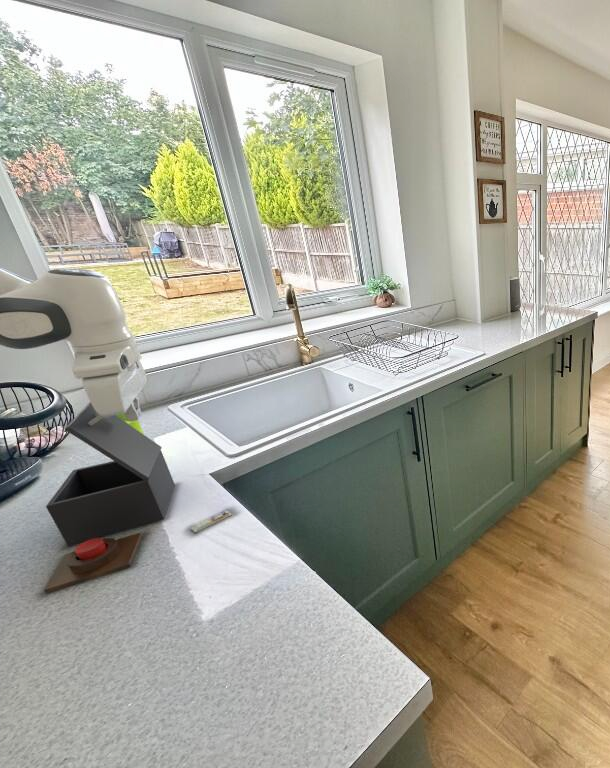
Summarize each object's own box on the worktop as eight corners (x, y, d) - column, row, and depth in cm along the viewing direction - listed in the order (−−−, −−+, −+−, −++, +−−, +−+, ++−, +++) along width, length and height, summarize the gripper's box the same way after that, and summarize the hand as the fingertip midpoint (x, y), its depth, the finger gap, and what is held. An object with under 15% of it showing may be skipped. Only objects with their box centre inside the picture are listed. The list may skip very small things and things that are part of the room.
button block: (46, 595, 68) (38, 582, 67) (67, 559, 76) (60, 546, 75) (131, 568, 73) (125, 555, 72) (143, 537, 81) (137, 524, 79)
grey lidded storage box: (68, 548, 78) (45, 506, 75) (92, 508, 89) (73, 469, 86) (164, 520, 85) (147, 481, 81) (175, 486, 96) (161, 450, 92)
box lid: (63, 429, 72) (91, 411, 74) (89, 402, 83) (113, 386, 85) (144, 480, 81) (168, 463, 82) (158, 449, 92) (179, 435, 93)
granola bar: (194, 534, 81) (192, 530, 80) (190, 530, 82) (189, 525, 82) (232, 516, 85) (231, 512, 85) (228, 511, 87) (227, 507, 86)
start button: (75, 563, 71) (71, 555, 71) (83, 550, 74) (78, 542, 73) (103, 555, 73) (99, 547, 72) (109, 542, 76) (105, 534, 75)
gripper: (104, 344, 87) (128, 403, 92) (67, 373, 71) (99, 443, 76) (142, 339, 90) (163, 397, 95) (115, 366, 73) (143, 434, 79)
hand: (135, 418), depth 85 cm, fingers closed
